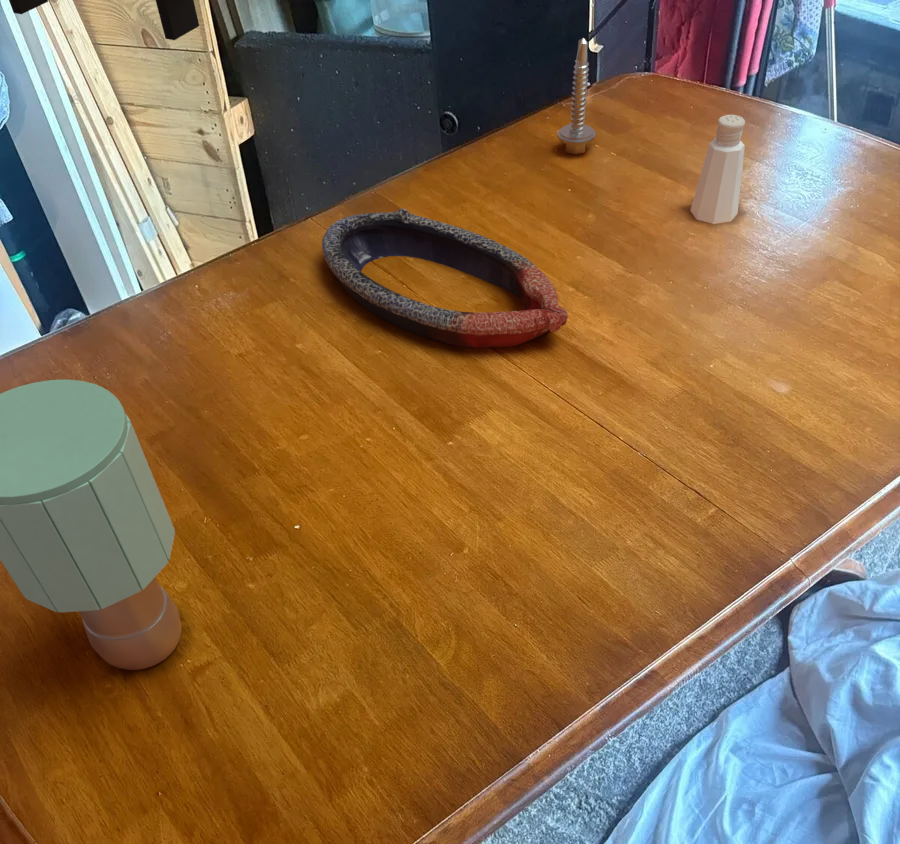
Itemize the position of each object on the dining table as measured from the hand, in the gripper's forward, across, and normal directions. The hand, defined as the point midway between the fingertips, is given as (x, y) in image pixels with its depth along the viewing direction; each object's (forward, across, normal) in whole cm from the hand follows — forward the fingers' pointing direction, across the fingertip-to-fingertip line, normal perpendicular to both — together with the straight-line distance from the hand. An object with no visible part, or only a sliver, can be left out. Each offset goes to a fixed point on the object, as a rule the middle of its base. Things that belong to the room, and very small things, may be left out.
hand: (104, 20), depth 62 cm
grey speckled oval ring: (+32, -13, -22) cm, 41 cm away
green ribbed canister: (+21, -14, +27) cm, 37 cm away
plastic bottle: (+32, -14, +27) cm, 44 cm away
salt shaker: (+32, -34, -50) cm, 68 cm away
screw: (+32, -13, -60) cm, 69 cm away
